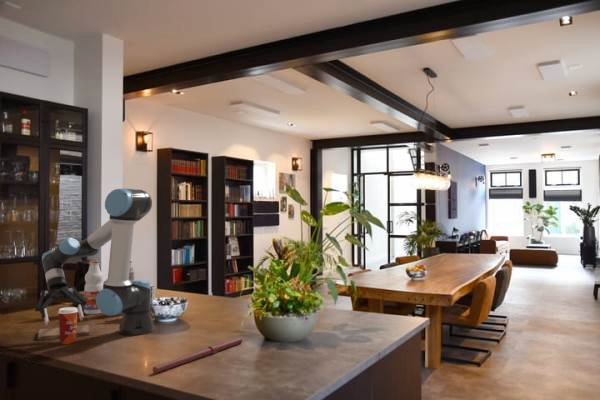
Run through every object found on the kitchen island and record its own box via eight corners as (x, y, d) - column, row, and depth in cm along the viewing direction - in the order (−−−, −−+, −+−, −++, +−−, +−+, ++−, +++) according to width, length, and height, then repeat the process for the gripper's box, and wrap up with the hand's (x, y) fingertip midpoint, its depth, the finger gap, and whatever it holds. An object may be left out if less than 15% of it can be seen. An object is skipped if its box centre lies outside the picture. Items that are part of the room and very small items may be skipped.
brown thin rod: (237, 343, 200) (237, 335, 200) (243, 344, 198) (243, 337, 198) (151, 374, 162) (151, 364, 162) (157, 375, 160) (157, 366, 160)
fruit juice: (107, 311, 260) (107, 260, 261) (94, 315, 251) (94, 261, 252) (93, 310, 263) (94, 259, 264) (80, 313, 254) (80, 261, 255)
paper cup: (69, 345, 195) (70, 310, 195) (53, 344, 197) (53, 310, 197) (82, 340, 203) (82, 307, 203) (66, 339, 204) (66, 306, 205)
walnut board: (88, 328, 224) (88, 324, 224) (89, 335, 211) (89, 331, 211) (39, 332, 215) (39, 329, 215) (37, 340, 202) (37, 336, 202)
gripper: (83, 283, 223) (93, 321, 211) (22, 289, 206) (30, 330, 195) (87, 273, 219) (97, 311, 207) (25, 278, 203) (33, 320, 191)
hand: (65, 321), depth 201 cm, fingers open, 13 cm apart
